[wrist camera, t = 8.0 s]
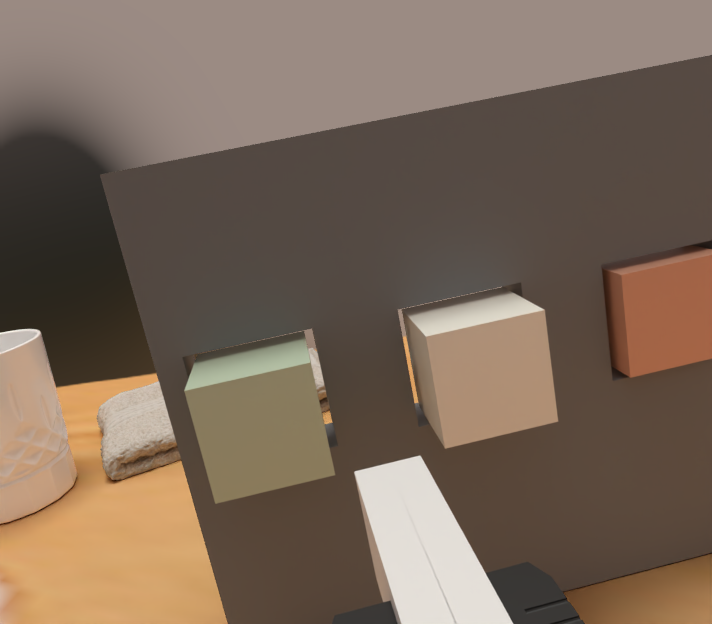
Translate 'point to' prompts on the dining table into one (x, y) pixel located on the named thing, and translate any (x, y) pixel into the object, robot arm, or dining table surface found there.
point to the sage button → (258, 417)
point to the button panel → (428, 284)
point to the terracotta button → (659, 310)
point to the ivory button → (481, 365)
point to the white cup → (30, 429)
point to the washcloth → (151, 428)
